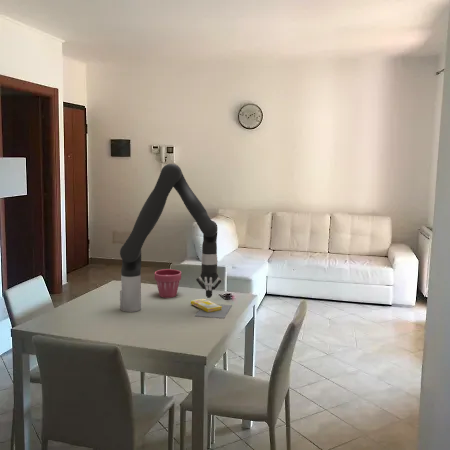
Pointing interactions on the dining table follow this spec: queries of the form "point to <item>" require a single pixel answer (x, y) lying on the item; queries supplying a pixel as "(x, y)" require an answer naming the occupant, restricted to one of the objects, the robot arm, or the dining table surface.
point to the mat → (215, 312)
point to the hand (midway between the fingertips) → (209, 297)
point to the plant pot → (167, 282)
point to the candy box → (206, 305)
